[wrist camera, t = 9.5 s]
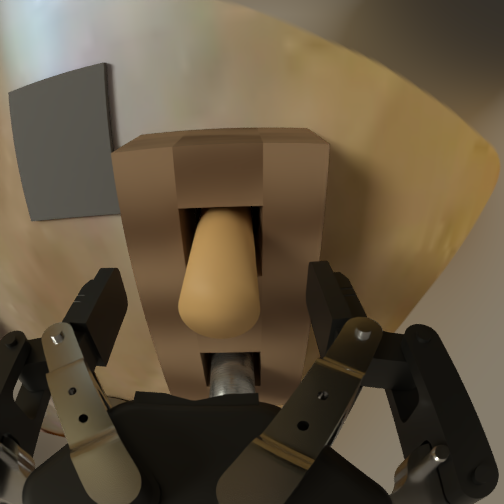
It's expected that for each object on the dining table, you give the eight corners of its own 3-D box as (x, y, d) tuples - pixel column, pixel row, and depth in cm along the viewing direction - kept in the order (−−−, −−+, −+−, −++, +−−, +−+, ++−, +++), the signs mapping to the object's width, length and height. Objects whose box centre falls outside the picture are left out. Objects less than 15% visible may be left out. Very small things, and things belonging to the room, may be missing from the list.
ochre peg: (250, 182, 19) (260, 275, 11) (250, 226, 21) (259, 337, 12) (202, 184, 19) (172, 277, 10) (205, 227, 21) (184, 338, 12)
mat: (122, 211, 20) (121, 213, 19) (34, 219, 19) (31, 221, 19) (106, 62, 15) (103, 62, 14) (11, 92, 14) (8, 92, 14)
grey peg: (251, 334, 26) (257, 441, 17) (215, 335, 26) (210, 442, 17) (250, 308, 24) (258, 421, 16) (212, 308, 24) (204, 421, 16)
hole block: (289, 359, 28) (296, 403, 23) (181, 361, 27) (175, 405, 23) (307, 128, 17) (329, 144, 13) (141, 134, 17) (110, 153, 13)
